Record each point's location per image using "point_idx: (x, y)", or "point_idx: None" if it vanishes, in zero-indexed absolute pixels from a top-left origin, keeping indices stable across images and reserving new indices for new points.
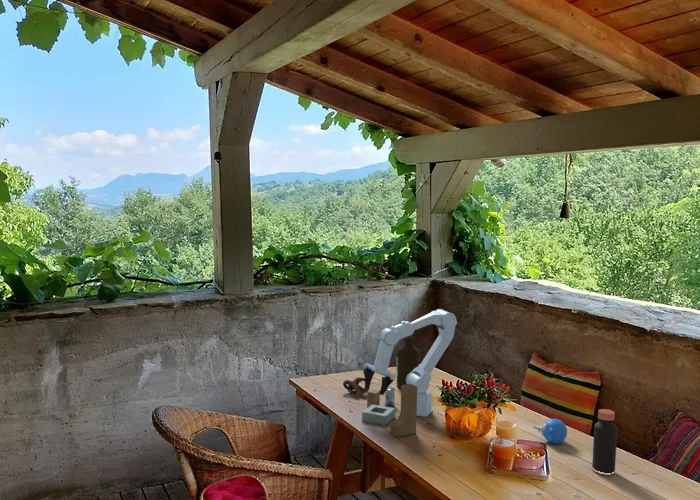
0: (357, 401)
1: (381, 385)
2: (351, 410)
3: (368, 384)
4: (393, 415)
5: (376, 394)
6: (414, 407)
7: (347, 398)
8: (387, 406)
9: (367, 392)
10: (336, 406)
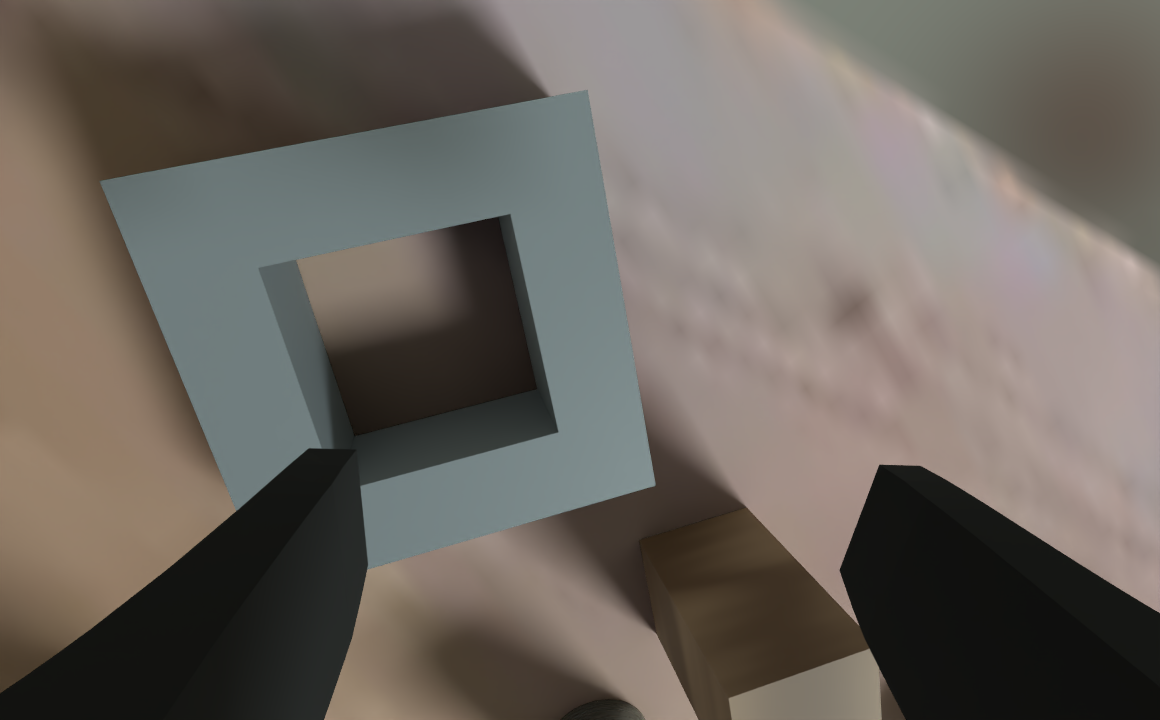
0: None
1: (189, 683)
2: (857, 332)
3: (913, 615)
4: None
5: (720, 691)
6: None
7: None
8: (593, 702)
9: None
10: (1047, 320)
